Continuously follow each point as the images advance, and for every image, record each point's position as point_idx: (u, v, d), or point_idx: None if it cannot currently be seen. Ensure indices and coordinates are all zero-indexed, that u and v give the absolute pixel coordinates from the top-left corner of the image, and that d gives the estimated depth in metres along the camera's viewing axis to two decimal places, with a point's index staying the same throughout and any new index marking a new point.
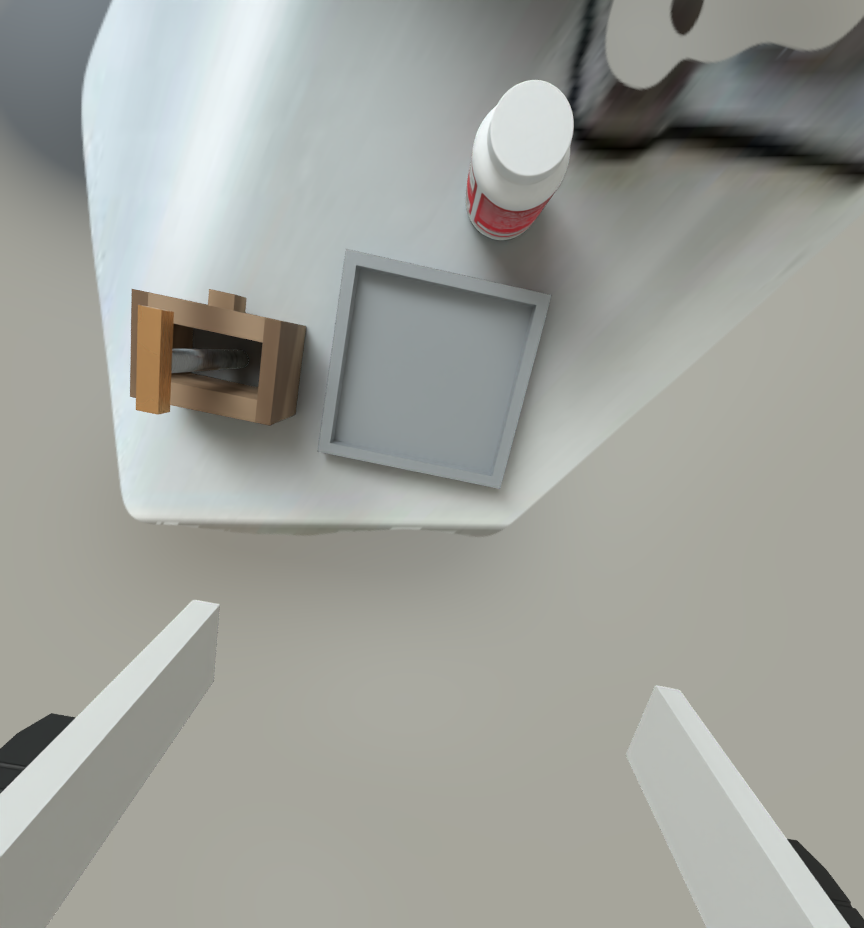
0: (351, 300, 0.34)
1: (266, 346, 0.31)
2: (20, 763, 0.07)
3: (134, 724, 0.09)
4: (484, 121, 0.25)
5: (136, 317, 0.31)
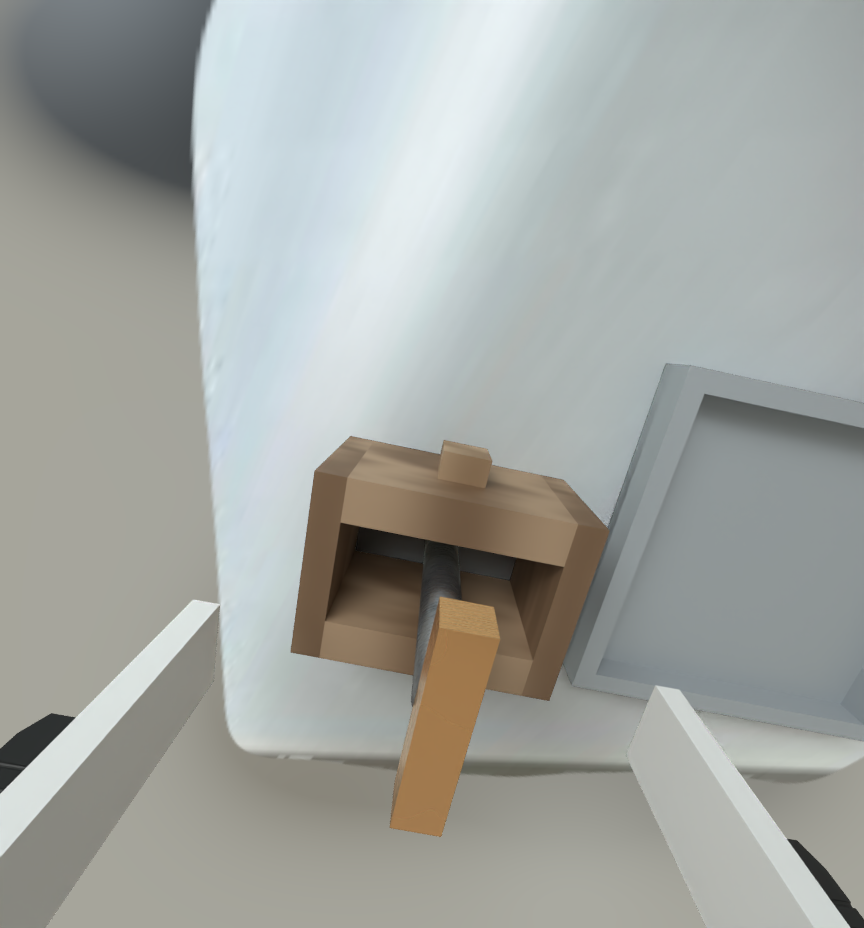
0: None
1: (570, 573, 0.16)
2: (20, 763, 0.07)
3: (134, 724, 0.09)
4: None
5: (318, 522, 0.15)
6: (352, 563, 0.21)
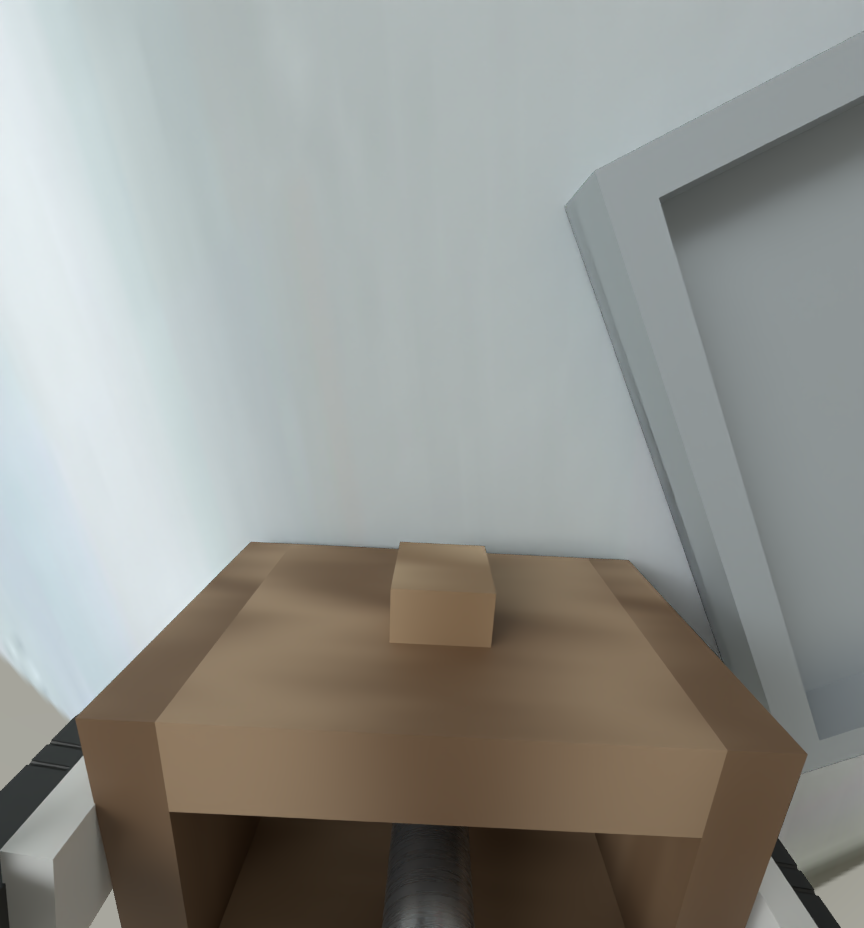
0: None
1: (717, 849, 0.07)
2: None
3: None
4: None
5: (119, 817, 0.07)
6: None
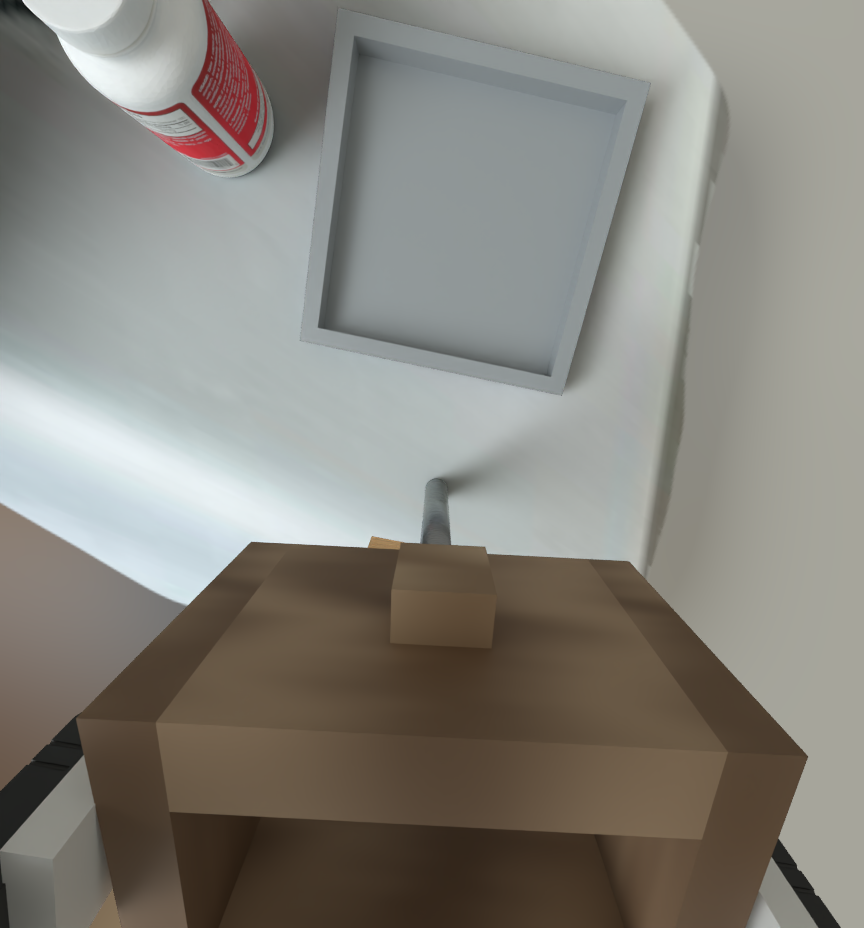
0: (361, 337, 0.26)
1: (717, 850, 0.07)
2: None
3: None
4: (94, 81, 0.17)
5: (120, 817, 0.07)
6: None
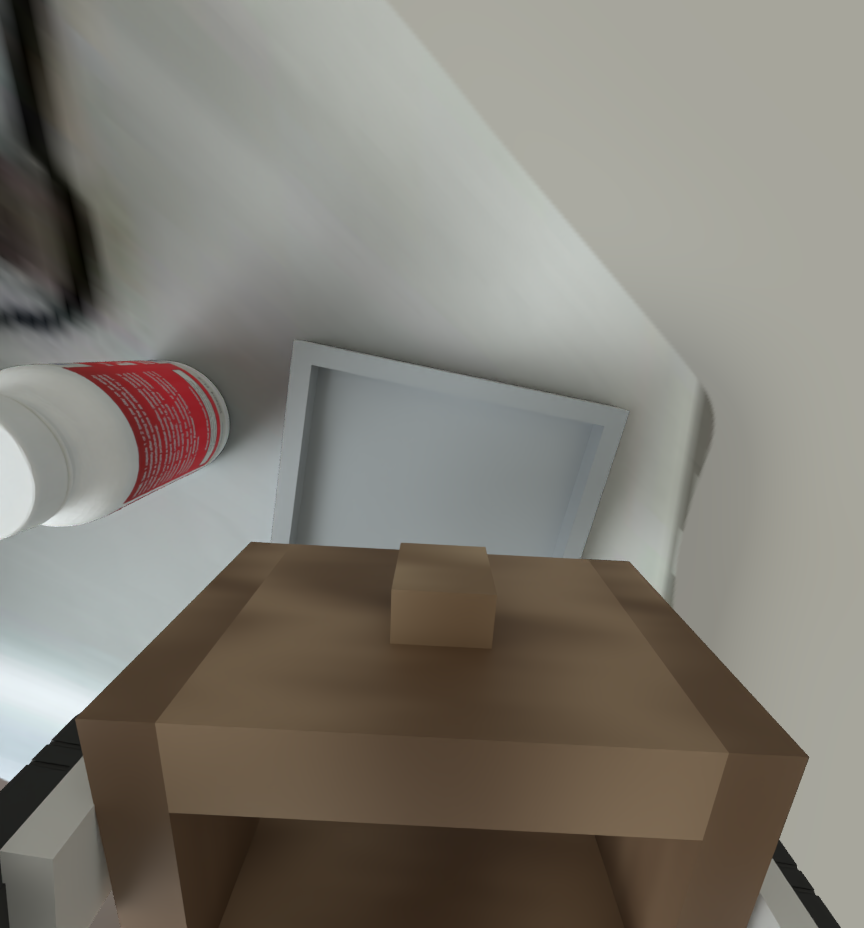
0: None
1: (718, 851, 0.07)
2: None
3: None
4: None
5: (119, 818, 0.07)
6: None
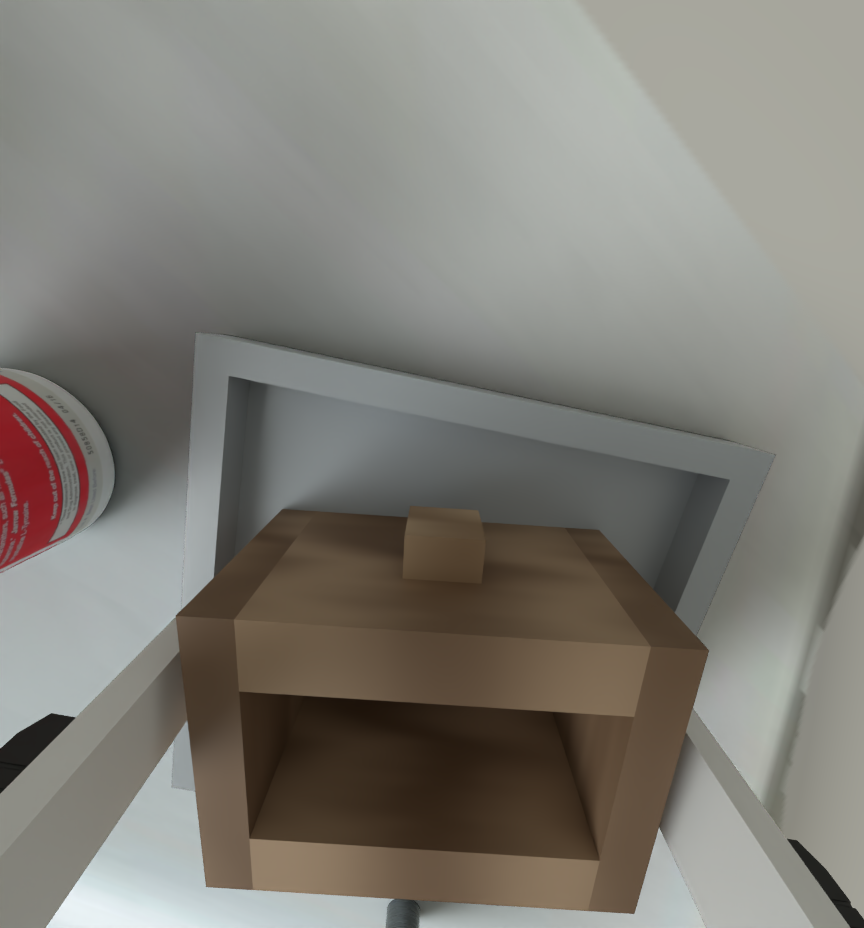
0: None
1: (646, 726, 0.09)
2: (20, 763, 0.07)
3: (134, 724, 0.09)
4: None
5: (201, 695, 0.09)
6: None
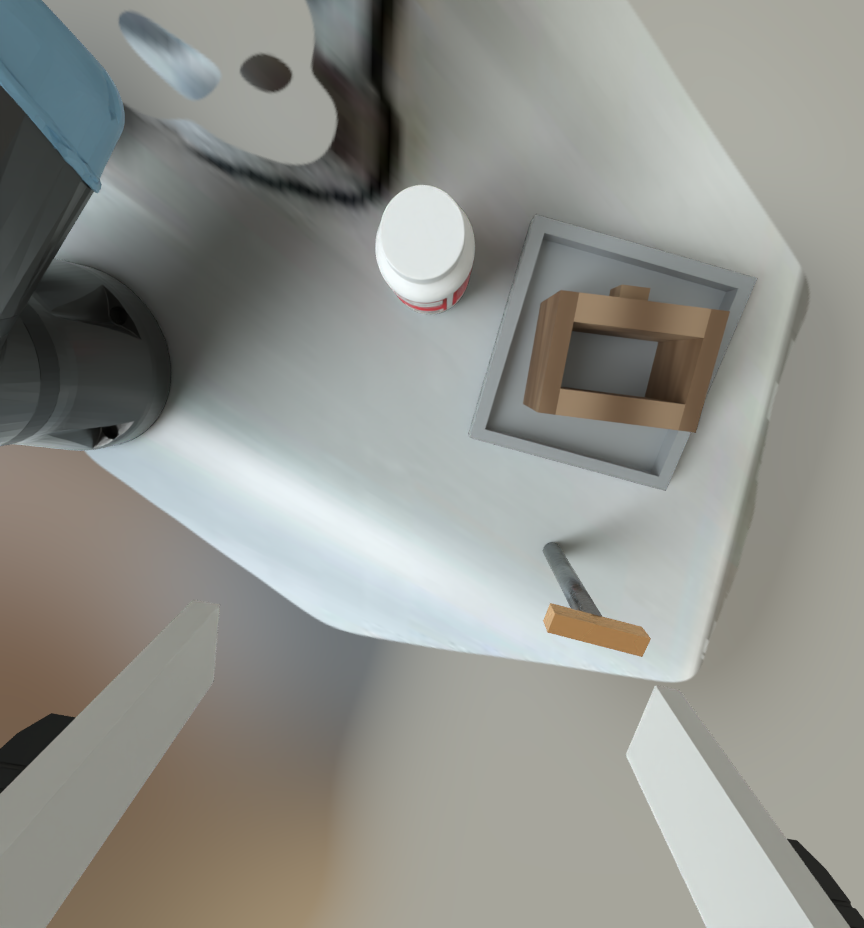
0: (516, 437, 0.34)
1: (707, 342, 0.27)
2: (20, 763, 0.07)
3: (134, 724, 0.09)
4: (397, 288, 0.25)
5: (561, 322, 0.27)
6: None
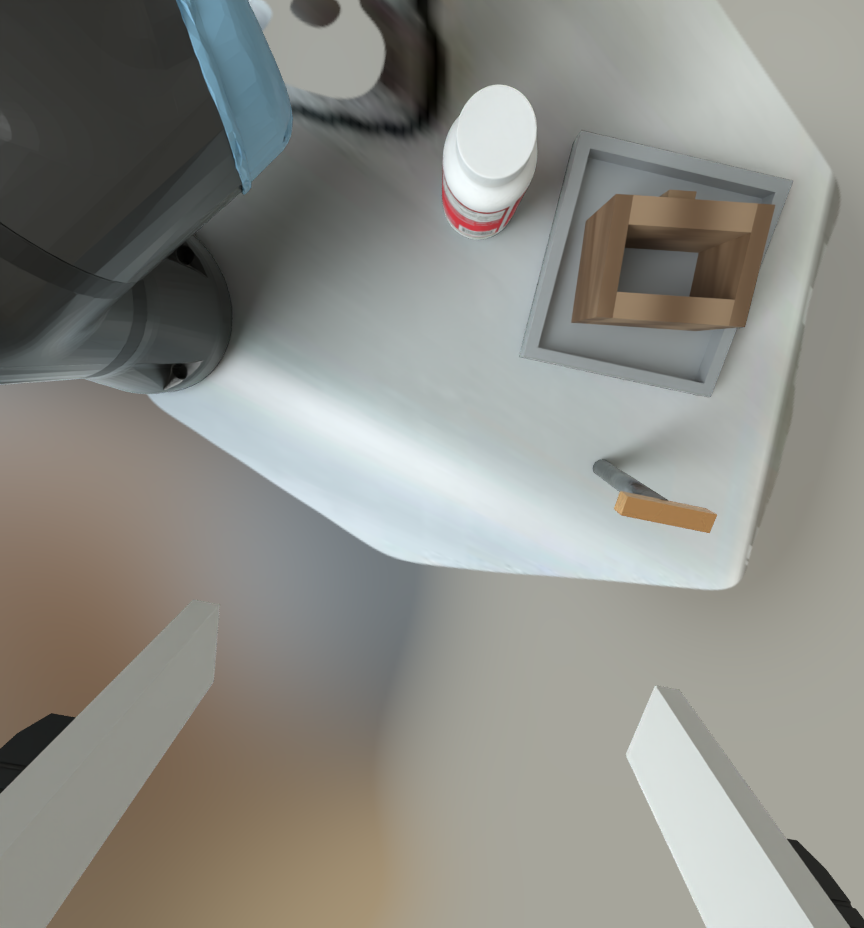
0: (567, 354, 0.36)
1: (754, 236, 0.29)
2: (20, 763, 0.07)
3: (134, 724, 0.09)
4: (465, 196, 0.27)
5: (616, 225, 0.29)
6: None
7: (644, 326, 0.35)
